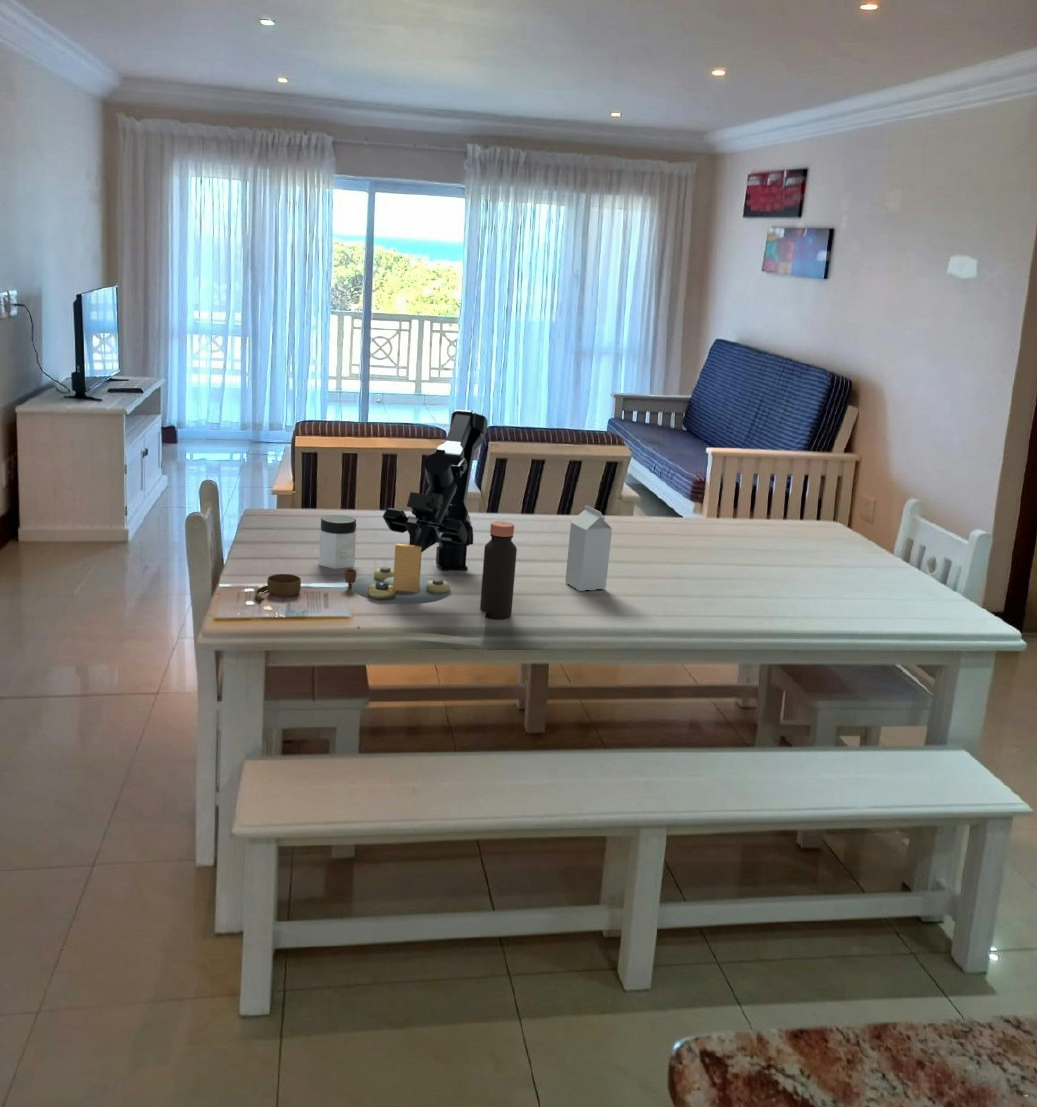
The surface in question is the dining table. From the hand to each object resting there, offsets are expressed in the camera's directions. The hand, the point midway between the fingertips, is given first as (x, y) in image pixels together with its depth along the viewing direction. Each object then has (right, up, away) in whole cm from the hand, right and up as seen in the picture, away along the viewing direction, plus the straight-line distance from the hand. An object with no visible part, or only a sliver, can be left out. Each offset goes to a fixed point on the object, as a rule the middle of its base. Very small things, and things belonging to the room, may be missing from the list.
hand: (410, 557), depth 233 cm
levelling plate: (-3, -8, +8) cm, 11 cm away
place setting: (-23, -10, -2) cm, 25 cm away
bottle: (+18, -12, -1) cm, 22 cm away
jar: (-20, -3, +22) cm, 30 cm away
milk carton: (+39, -7, +24) cm, 46 cm away
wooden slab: (-4, -8, 0) cm, 9 cm away
